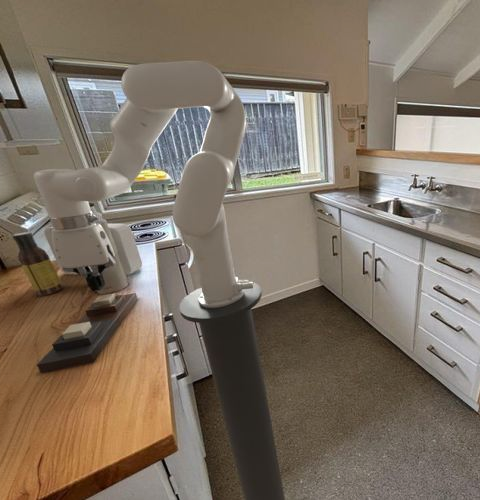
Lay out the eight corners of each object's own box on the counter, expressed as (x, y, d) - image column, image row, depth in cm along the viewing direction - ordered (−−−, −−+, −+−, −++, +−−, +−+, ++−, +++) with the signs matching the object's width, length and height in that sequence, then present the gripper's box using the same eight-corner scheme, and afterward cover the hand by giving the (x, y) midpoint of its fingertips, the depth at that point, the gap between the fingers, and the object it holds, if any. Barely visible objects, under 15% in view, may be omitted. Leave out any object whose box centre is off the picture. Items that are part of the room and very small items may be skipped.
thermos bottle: (91, 295, 89) (56, 207, 79) (107, 283, 96) (76, 202, 86) (119, 292, 90) (88, 205, 80) (132, 281, 98) (105, 200, 88)
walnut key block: (137, 299, 86) (133, 287, 84) (119, 325, 73) (114, 312, 72) (102, 305, 83) (97, 293, 82) (76, 333, 71) (70, 319, 69)
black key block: (119, 325, 73) (114, 312, 72) (93, 362, 61) (86, 347, 59) (76, 333, 71) (70, 319, 69) (40, 373, 58) (32, 357, 57)
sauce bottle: (68, 285, 95) (43, 229, 88) (54, 294, 90) (26, 235, 83) (46, 288, 94) (19, 231, 87) (30, 297, 89) (0, 237, 81)
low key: (116, 299, 79) (114, 293, 78) (111, 305, 76) (108, 299, 75) (101, 301, 78) (98, 296, 77) (94, 308, 75) (92, 302, 74)
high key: (92, 327, 67) (89, 321, 66) (84, 336, 63) (81, 330, 63) (73, 331, 66) (70, 324, 65) (64, 340, 62) (61, 334, 62)
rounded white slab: (55, 277, 102) (33, 229, 96) (76, 268, 109) (57, 223, 103) (127, 278, 100) (111, 229, 93) (144, 269, 107) (129, 223, 100)
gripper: (116, 215, 74) (136, 278, 81) (44, 221, 70) (71, 286, 76) (104, 222, 68) (126, 290, 74) (23, 229, 63) (54, 300, 70)
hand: (98, 288), depth 75 cm, fingers closed
